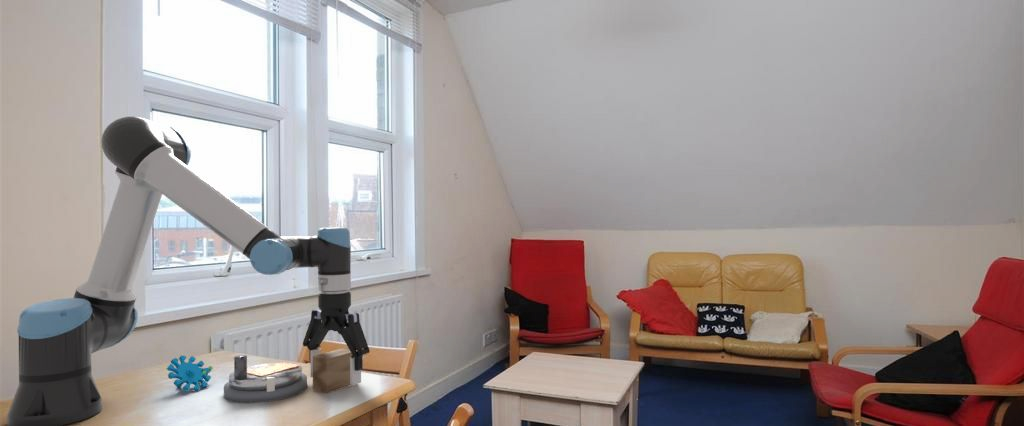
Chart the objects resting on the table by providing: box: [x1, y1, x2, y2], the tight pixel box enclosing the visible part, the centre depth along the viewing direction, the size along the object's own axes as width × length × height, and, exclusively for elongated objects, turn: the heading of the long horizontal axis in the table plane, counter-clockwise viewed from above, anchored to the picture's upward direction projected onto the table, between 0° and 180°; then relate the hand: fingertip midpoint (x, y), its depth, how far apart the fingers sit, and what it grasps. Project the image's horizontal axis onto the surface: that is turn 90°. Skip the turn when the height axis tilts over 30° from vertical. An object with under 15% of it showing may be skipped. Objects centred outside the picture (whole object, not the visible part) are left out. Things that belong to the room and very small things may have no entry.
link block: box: [312, 347, 352, 394], centre depth 136 cm, size 5×9×8 cm, turn 149°
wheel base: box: [223, 372, 308, 404], centre depth 133 cm, size 18×18×5 cm
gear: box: [166, 355, 214, 392], centre depth 135 cm, size 11×6×10 cm
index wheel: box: [228, 354, 303, 391], centre depth 133 cm, size 16×16×7 cm
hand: (335, 379), depth 136 cm, fingers open, 13 cm apart
